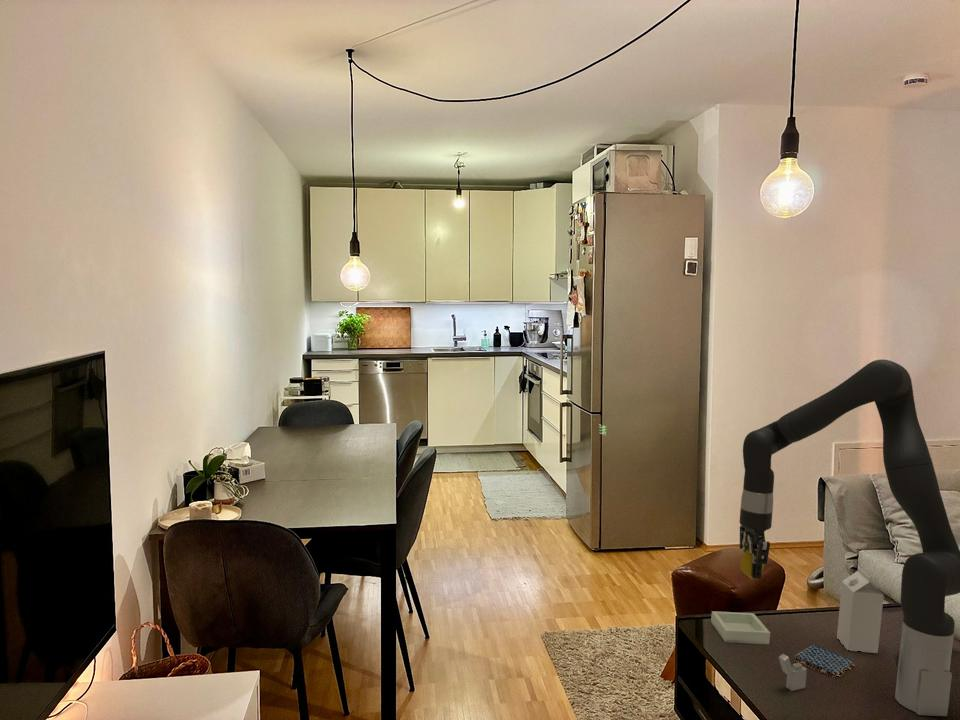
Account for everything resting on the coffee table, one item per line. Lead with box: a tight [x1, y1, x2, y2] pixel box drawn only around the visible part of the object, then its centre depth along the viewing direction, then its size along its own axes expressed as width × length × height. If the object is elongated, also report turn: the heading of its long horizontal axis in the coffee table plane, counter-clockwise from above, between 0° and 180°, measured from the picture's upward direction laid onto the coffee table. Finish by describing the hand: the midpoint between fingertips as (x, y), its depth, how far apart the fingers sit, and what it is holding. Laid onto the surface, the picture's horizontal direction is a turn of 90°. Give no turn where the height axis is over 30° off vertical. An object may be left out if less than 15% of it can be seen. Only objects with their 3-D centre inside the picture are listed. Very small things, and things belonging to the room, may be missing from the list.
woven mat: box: [794, 643, 855, 678], centre depth 172 cm, size 10×11×2 cm
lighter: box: [778, 653, 808, 692], centre depth 159 cm, size 7×2×8 cm, turn 113°
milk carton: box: [836, 566, 885, 654], centre depth 181 cm, size 7×7×19 cm
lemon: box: [739, 549, 765, 580], centre depth 184 cm, size 6×6×8 cm
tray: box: [710, 610, 771, 645], centre depth 185 cm, size 11×11×3 cm
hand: (751, 573), depth 184 cm, fingers closed on lemon, 5 cm apart
